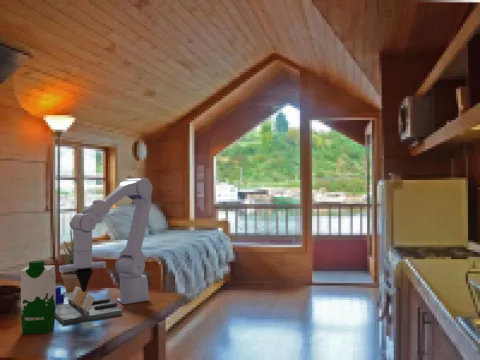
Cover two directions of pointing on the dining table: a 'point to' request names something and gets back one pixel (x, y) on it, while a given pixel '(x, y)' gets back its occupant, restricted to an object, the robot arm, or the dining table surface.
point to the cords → (103, 305)
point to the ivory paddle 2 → (88, 302)
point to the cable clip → (59, 296)
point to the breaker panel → (83, 312)
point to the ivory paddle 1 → (75, 294)
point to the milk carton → (38, 298)
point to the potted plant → (70, 276)
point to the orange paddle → (81, 298)
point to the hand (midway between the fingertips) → (83, 292)
